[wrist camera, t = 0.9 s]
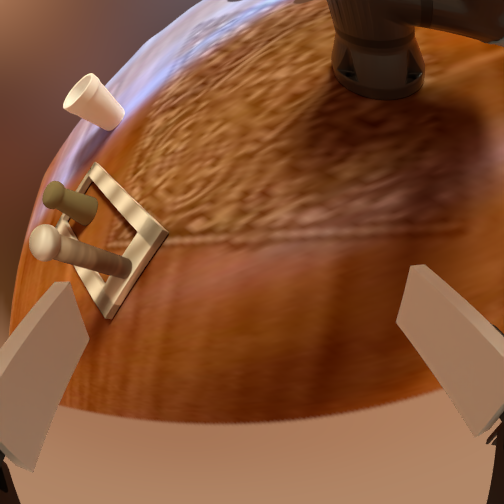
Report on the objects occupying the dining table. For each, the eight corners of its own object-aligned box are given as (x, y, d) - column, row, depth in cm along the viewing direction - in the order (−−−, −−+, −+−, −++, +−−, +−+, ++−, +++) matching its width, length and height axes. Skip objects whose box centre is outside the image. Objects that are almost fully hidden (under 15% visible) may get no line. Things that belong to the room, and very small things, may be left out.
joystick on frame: (169, 233, 42) (70, 181, 25) (112, 320, 42) (11, 304, 26) (99, 164, 54) (35, 124, 38) (59, 230, 55) (-7, 202, 38)
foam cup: (133, 115, 55) (94, 81, 43) (104, 143, 57) (63, 115, 45) (125, 98, 59) (91, 68, 47) (99, 124, 60) (63, 97, 49)
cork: (88, 194, 54) (49, 173, 44) (101, 201, 51) (59, 179, 41) (76, 220, 53) (35, 202, 43) (88, 229, 51) (44, 211, 41)
